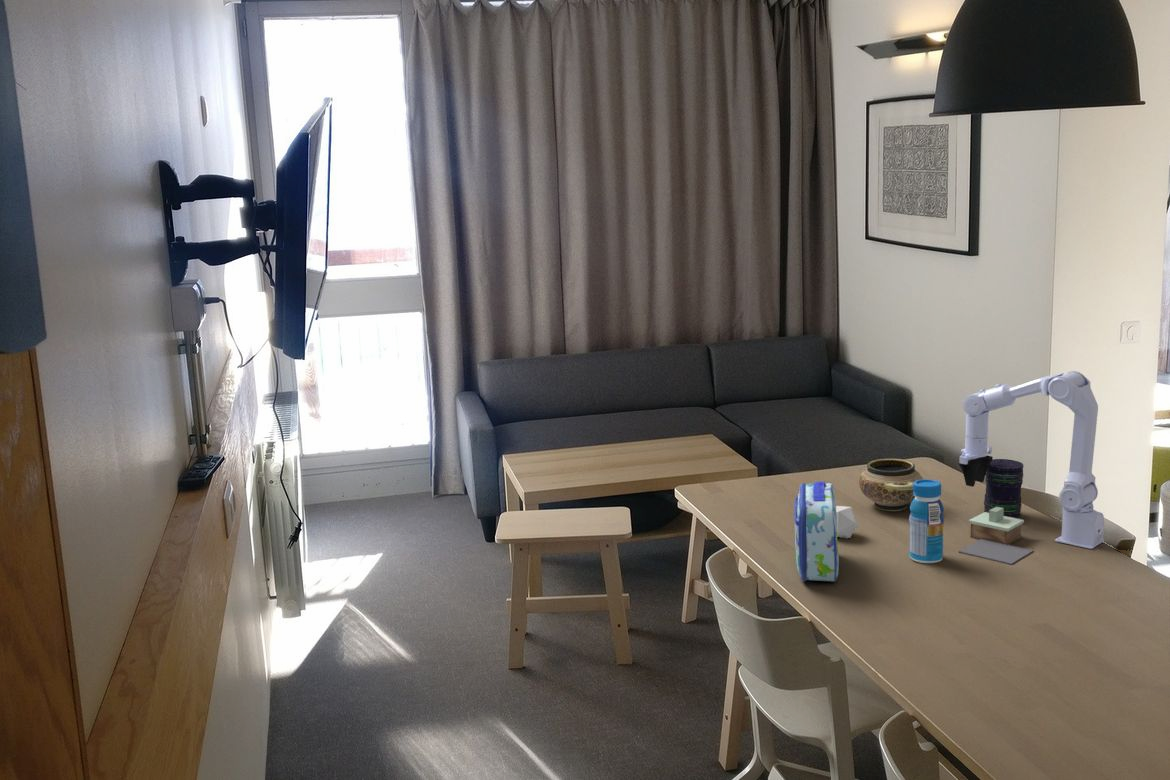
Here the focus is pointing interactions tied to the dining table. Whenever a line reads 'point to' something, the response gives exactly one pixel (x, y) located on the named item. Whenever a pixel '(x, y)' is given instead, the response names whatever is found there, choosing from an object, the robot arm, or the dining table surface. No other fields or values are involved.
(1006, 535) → the box
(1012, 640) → the dining table surface
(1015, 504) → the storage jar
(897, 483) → the ceramic bowl
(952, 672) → the dining table surface
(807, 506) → the lunch box
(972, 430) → the robot arm
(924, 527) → the beverage bottle
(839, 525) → the die
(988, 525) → the lid
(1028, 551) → the mat
